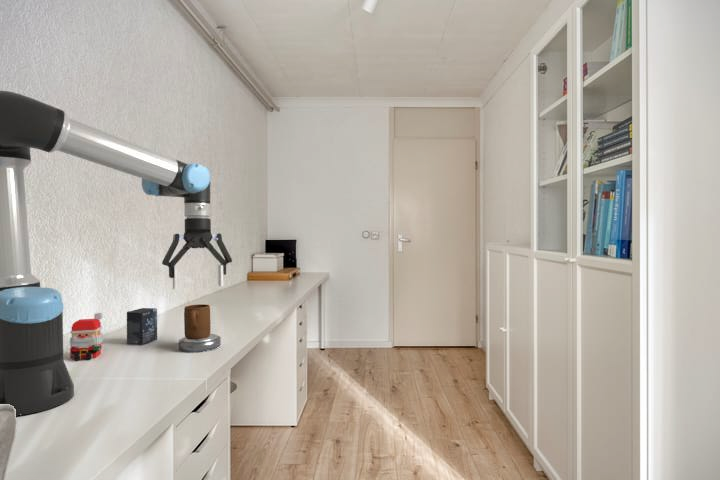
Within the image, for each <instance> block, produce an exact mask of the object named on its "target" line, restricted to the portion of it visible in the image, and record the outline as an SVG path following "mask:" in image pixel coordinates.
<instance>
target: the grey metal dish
mask: <svg viewBox="0 0 720 480" xmlns="http://www.w3.org/2000/svg"><path fill="white" fill-rule="evenodd" d="M220 345H221V336H219V335H218V334H215V333H214V334H213V333H210V335H209V336H208V337H205V338H199V339H188V338H186V337H185V336H184V337H182V338H180V339H179V340H178V350H179V351H180V352H181V353H204V352H203V351H205V352H208V351H207V350H210V351H213V350H212V349H214V350H216V349H215V348H217V347H219V346H220ZM220 347H221V346H220ZM220 347H219V348H220ZM217 349H218V348H217Z"/></svg>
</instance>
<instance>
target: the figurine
mask: <svg viewBox="0 0 720 480" xmlns="http://www.w3.org/2000/svg"><path fill="white" fill-rule="evenodd" d="M93 316H94V317H93V318H84V319H78V320H76V321H75V322H73V323H72V326H71V330H70V334H71V337H70V339H69V342H70V343H69V345H70V346H69V351H70V353H69V356H70V359H72V360H74V362H78V361H81V360H86V361H88V360H89V361H90V360H93V359H96V358H97V357H99V355H101V353H102V351H101V350H102V347H103V344H102V343H103V332H102V331H101V330H102V329H103V326H102V325H101V324H102V323H101V320H102V319H103V312H95V313H94V315H93Z"/></svg>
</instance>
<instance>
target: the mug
mask: <svg viewBox="0 0 720 480" xmlns="http://www.w3.org/2000/svg"><path fill="white" fill-rule="evenodd" d="M183 309H184V311H183V323H184V337H186V338H188V339H199V338H205V337H208V336H209V335H210V334H211V306H210V305H209V304H191V305H187V306H184V308H183Z"/></svg>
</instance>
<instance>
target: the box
mask: <svg viewBox="0 0 720 480" xmlns="http://www.w3.org/2000/svg"><path fill="white" fill-rule="evenodd" d="M157 340H158V308H156V307H155V308H153V307H151V308H150V307H141V308H137V309H134V310H130V311H129V310H128V311H126V345H132V346H143V345H145V344H147V343H150V342H154V341H157Z"/></svg>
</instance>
